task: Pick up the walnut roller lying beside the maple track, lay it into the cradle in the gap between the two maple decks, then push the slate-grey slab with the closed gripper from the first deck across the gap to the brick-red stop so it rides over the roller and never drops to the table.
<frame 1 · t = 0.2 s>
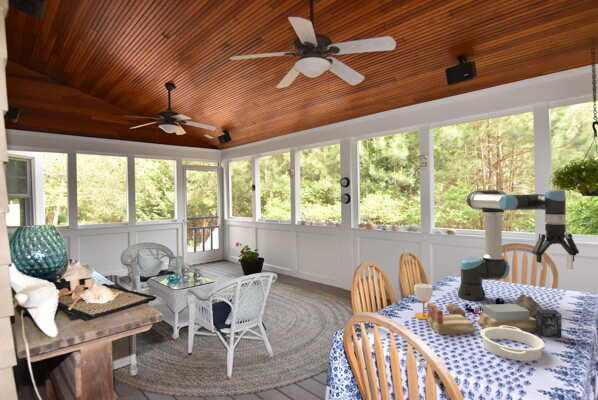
hand: (555, 269, 157), 28 cm above the table, fingers open, 13 cm apart
rock: (528, 315, 176), on the table
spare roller: (456, 315, 177), on the table
cup: (423, 316, 176), on the table
box: (548, 335, 152), on the table
slab: (505, 316, 161), point 5 cm above the table, touching track
track: (476, 327, 161), on the table
cream oval ring: (511, 350, 139), on the table
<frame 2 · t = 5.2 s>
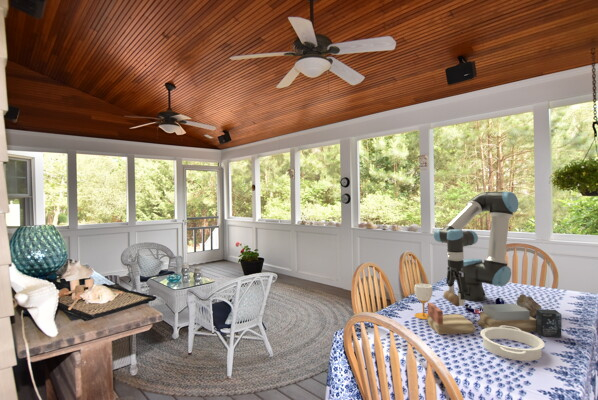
hand: (456, 301, 177), 7 cm above the table, fingers closed on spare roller, 10 cm apart
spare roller: (456, 300, 177), point 7 cm above the table, tilted 52°, touching gripper
everything else where it was.
when the fingers open (1 cm above the table, at t = 9.5 s): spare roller drops 2 cm, on the table.
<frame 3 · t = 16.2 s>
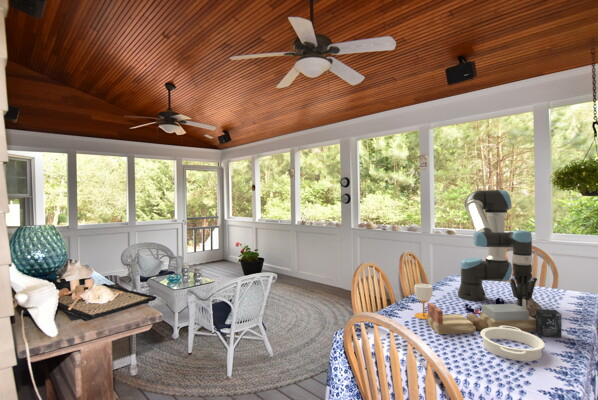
hand: (522, 312, 162), 6 cm above the table, fingers closed
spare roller: (475, 327, 161), on the table, tilted 26°
slab: (504, 316, 161), point 5 cm above the table, touching gripper
everything else where it was.
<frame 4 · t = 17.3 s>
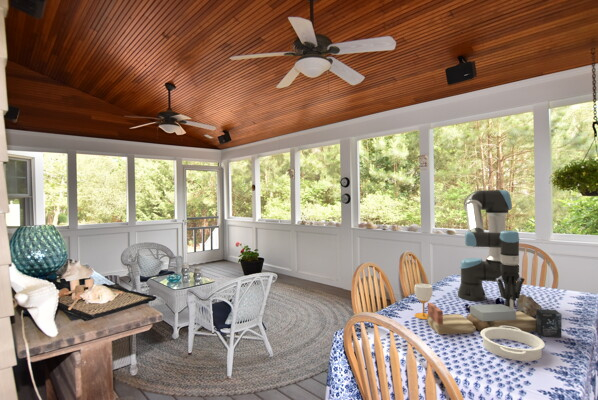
hand: (510, 313, 161), 6 cm above the table, fingers closed
slab: (492, 316, 161), point 5 cm above the table, touching gripper
everything else where it was.
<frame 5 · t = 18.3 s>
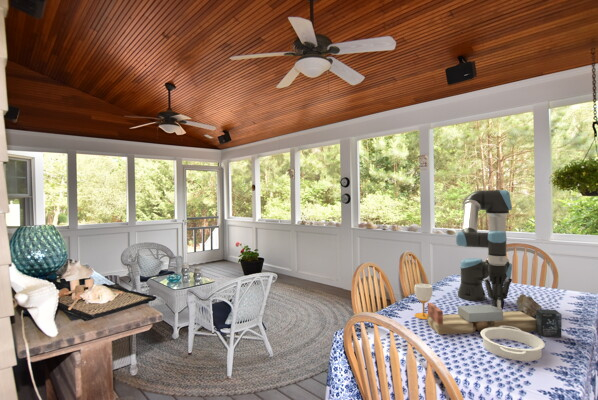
hand: (497, 313, 161), 6 cm above the table, fingers closed
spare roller: (476, 327, 161), on the table, touching slab, track
slab: (479, 317, 161), point 5 cm above the table, touching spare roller
everything else where it was.
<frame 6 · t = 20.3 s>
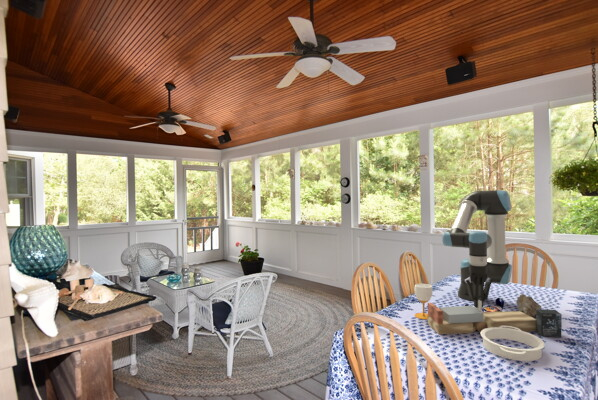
hand: (478, 314, 161), 6 cm above the table, fingers closed
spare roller: (480, 325, 161), point 1 cm above the table, tilted 57°, touching slab, track
slab: (460, 318, 160), point 5 cm above the table, touching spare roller
everything else where it was.
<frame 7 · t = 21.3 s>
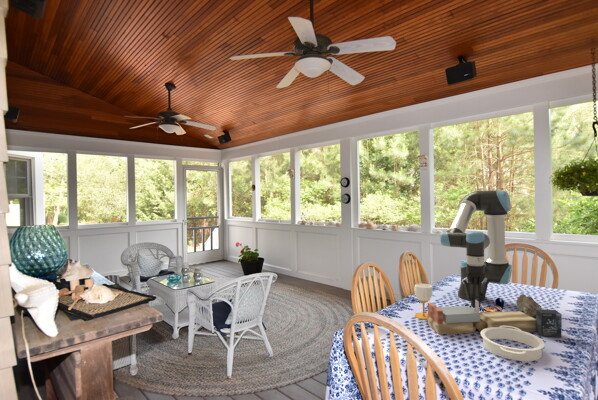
hand: (475, 314, 161), 6 cm above the table, fingers closed
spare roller: (481, 323, 161), point 2 cm above the table, tilted 76°, touching slab
slab: (457, 318, 161), point 5 cm above the table, touching gripper, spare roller, track
everything else where it was.
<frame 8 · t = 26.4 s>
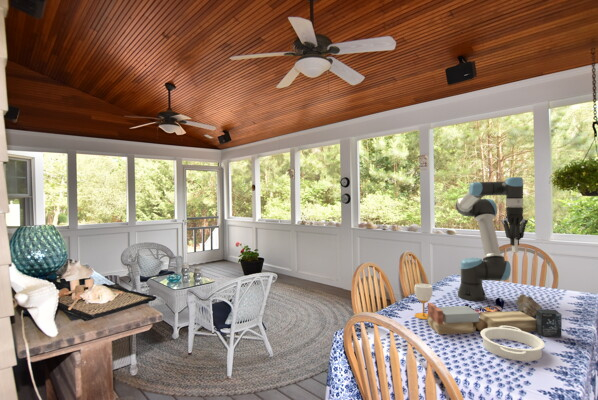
hand: (514, 251, 178), 32 cm above the table, fingers closed
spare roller: (481, 322, 162), point 2 cm above the table, tilted 84°
slab: (456, 318, 161), point 4 cm above the table, touching track
everything else where it was.
at the end: slab inside the target area (1.2 cm from its centre), point 4.4 cm above the table; slab tilted 0°; slab touching track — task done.
